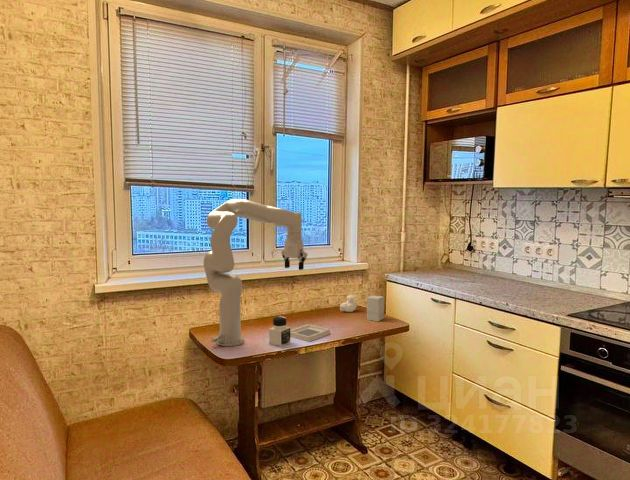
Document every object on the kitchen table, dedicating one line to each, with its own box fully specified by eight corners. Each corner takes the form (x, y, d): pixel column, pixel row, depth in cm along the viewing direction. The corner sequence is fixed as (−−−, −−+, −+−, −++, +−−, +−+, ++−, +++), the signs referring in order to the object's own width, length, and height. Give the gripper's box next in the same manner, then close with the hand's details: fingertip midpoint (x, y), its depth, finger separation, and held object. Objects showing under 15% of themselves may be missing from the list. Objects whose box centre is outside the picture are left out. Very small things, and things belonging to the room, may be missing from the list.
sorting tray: (308, 341, 201) (308, 337, 201) (286, 335, 210) (286, 331, 209) (330, 333, 213) (330, 329, 213) (308, 328, 222) (308, 324, 222)
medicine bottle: (281, 346, 194) (281, 320, 193) (268, 343, 198) (268, 318, 197) (290, 342, 200) (290, 316, 199) (278, 339, 204) (278, 314, 203)
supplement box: (384, 318, 241) (384, 296, 240) (378, 321, 234) (379, 298, 233) (372, 317, 245) (372, 294, 244) (366, 319, 238) (366, 297, 237)
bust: (340, 316, 254) (347, 303, 247) (335, 306, 259) (341, 294, 252) (357, 313, 260) (364, 301, 253) (351, 304, 265) (358, 291, 258)
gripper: (277, 235, 228) (277, 267, 229) (302, 237, 217) (301, 271, 218) (286, 234, 234) (286, 266, 235) (311, 236, 223) (311, 269, 224)
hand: (294, 268), depth 227 cm, fingers open, 9 cm apart
